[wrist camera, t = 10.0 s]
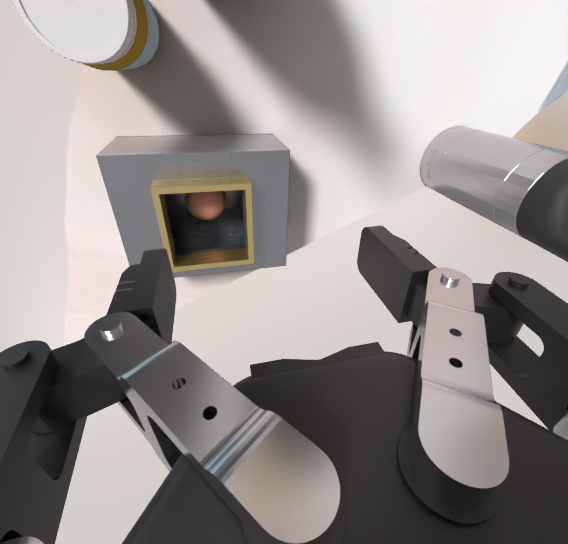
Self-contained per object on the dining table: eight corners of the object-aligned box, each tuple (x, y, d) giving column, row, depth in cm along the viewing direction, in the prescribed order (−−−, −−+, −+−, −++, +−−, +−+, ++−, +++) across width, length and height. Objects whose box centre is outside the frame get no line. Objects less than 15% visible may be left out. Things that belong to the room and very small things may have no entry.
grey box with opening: (272, 133, 39) (296, 156, 29) (272, 233, 46) (290, 276, 37) (116, 136, 35) (88, 163, 26) (145, 244, 43) (130, 295, 33)
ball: (223, 172, 39) (226, 185, 35) (226, 209, 42) (229, 225, 38) (182, 174, 38) (180, 187, 34) (188, 212, 41) (187, 228, 37)
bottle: (134, -36, 28) (87, -110, 16) (173, 55, 32) (158, 50, 20) (62, -9, 28) (-41, -64, 16) (110, 78, 32) (57, 87, 20)
